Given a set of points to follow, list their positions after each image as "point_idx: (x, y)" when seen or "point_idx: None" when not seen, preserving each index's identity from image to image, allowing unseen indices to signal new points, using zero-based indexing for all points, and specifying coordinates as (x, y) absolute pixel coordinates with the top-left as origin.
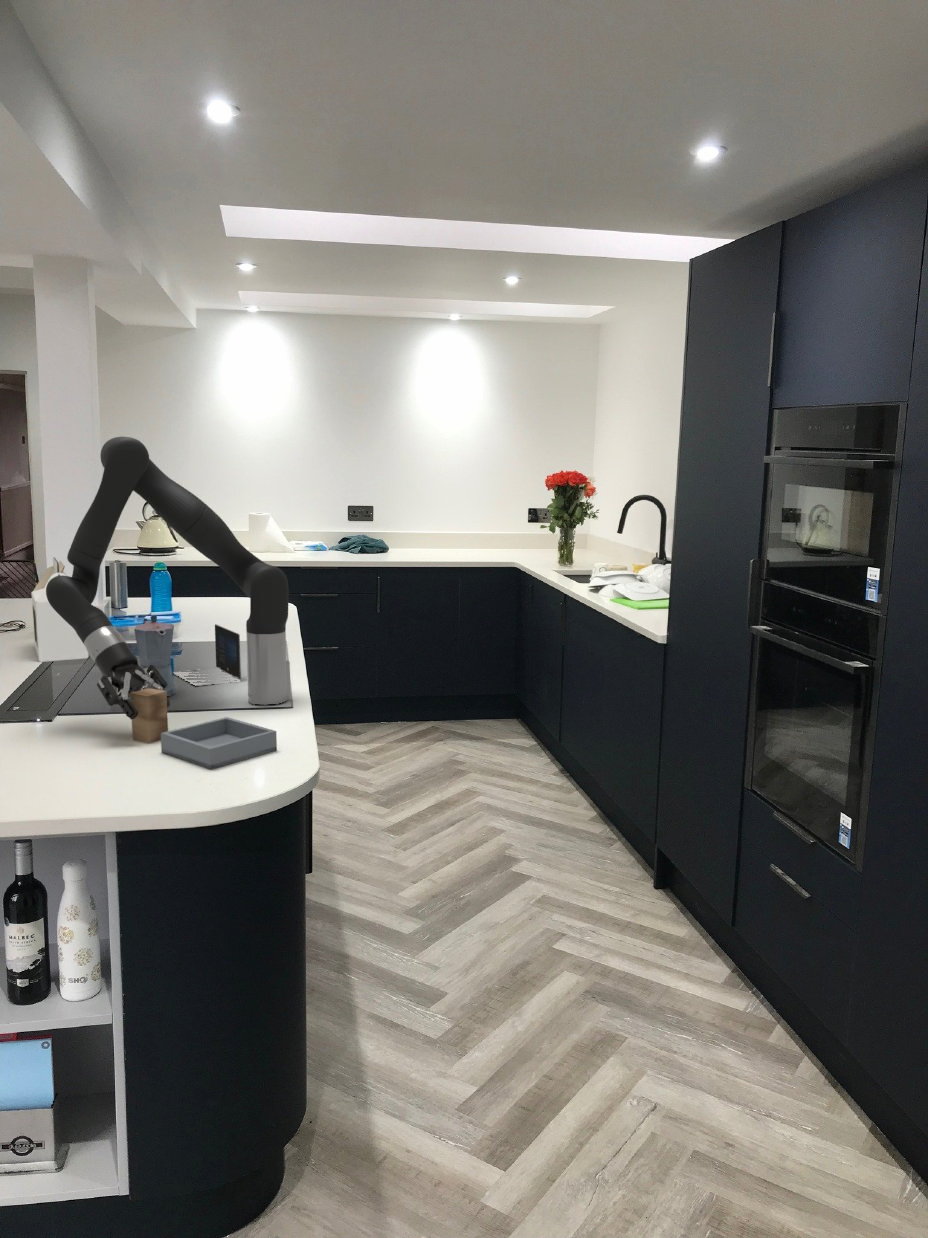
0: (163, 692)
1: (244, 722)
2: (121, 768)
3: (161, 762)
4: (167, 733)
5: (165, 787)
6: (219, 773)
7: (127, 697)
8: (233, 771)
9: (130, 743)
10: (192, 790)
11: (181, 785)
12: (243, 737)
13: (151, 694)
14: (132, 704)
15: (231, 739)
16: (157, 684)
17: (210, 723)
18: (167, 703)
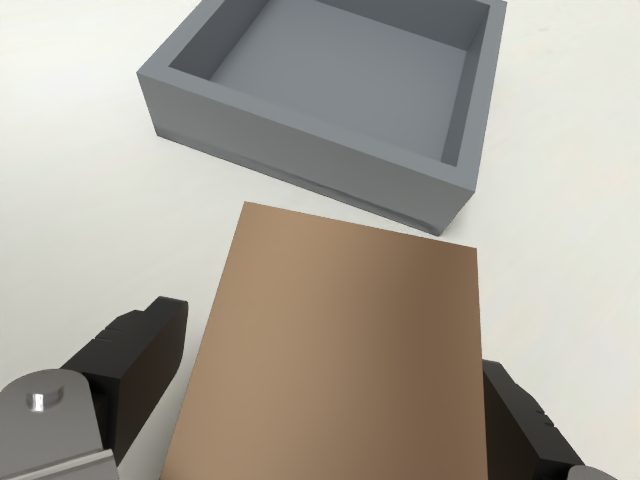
0: (282, 211)
1: (204, 3)
2: (630, 261)
3: (511, 184)
4: (463, 165)
5: (625, 90)
6: None
7: (571, 476)
8: None
9: None
10: (594, 43)
11: (592, 69)
12: (226, 52)
13: (411, 255)
14: (513, 409)
15: (249, 80)
16: (5, 436)
17: (245, 97)
18: (181, 300)
